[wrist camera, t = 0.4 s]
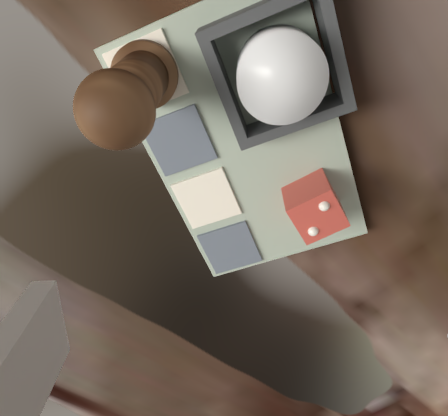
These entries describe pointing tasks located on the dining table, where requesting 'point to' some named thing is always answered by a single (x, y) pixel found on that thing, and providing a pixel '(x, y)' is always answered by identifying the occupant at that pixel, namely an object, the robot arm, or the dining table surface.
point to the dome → (281, 75)
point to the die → (314, 207)
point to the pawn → (126, 95)
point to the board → (244, 132)
